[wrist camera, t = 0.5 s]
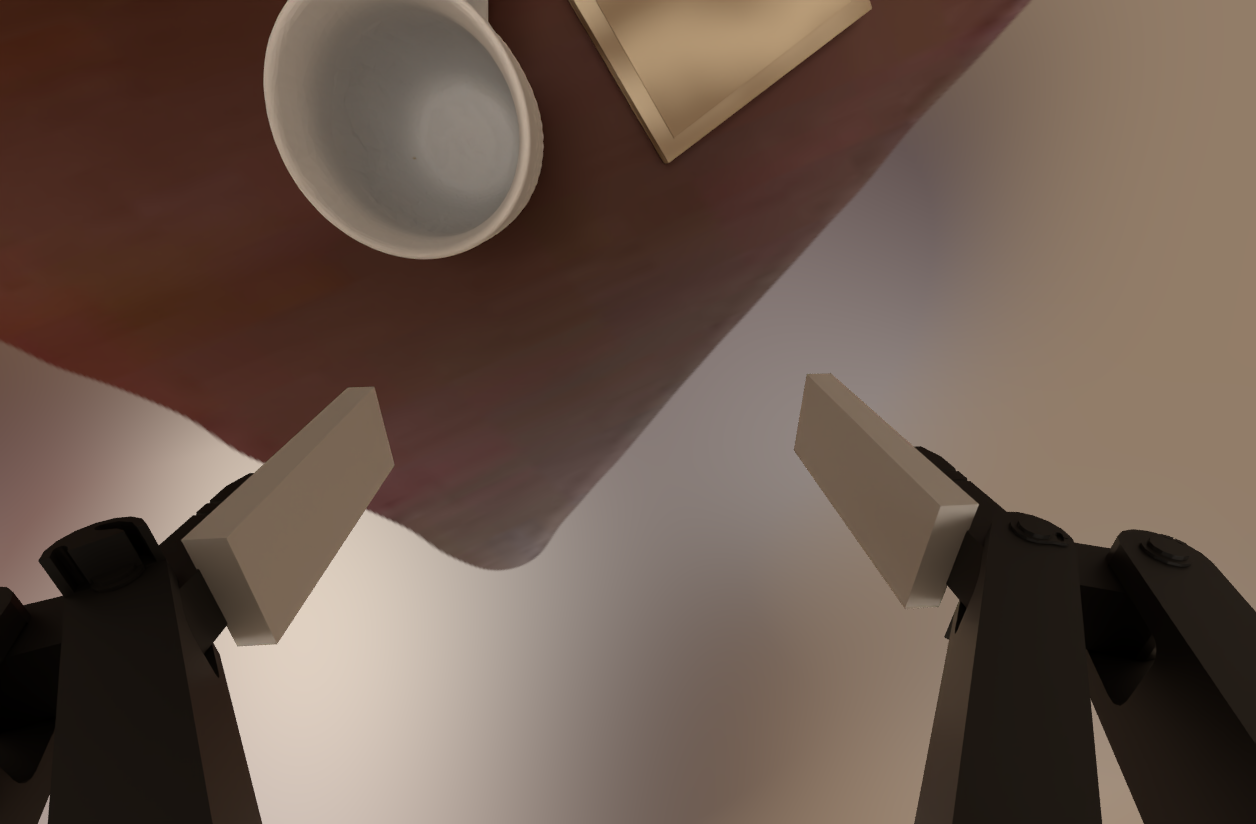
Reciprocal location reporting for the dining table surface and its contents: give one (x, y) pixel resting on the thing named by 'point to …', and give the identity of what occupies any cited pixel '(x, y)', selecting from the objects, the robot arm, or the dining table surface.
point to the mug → (403, 121)
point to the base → (705, 55)
